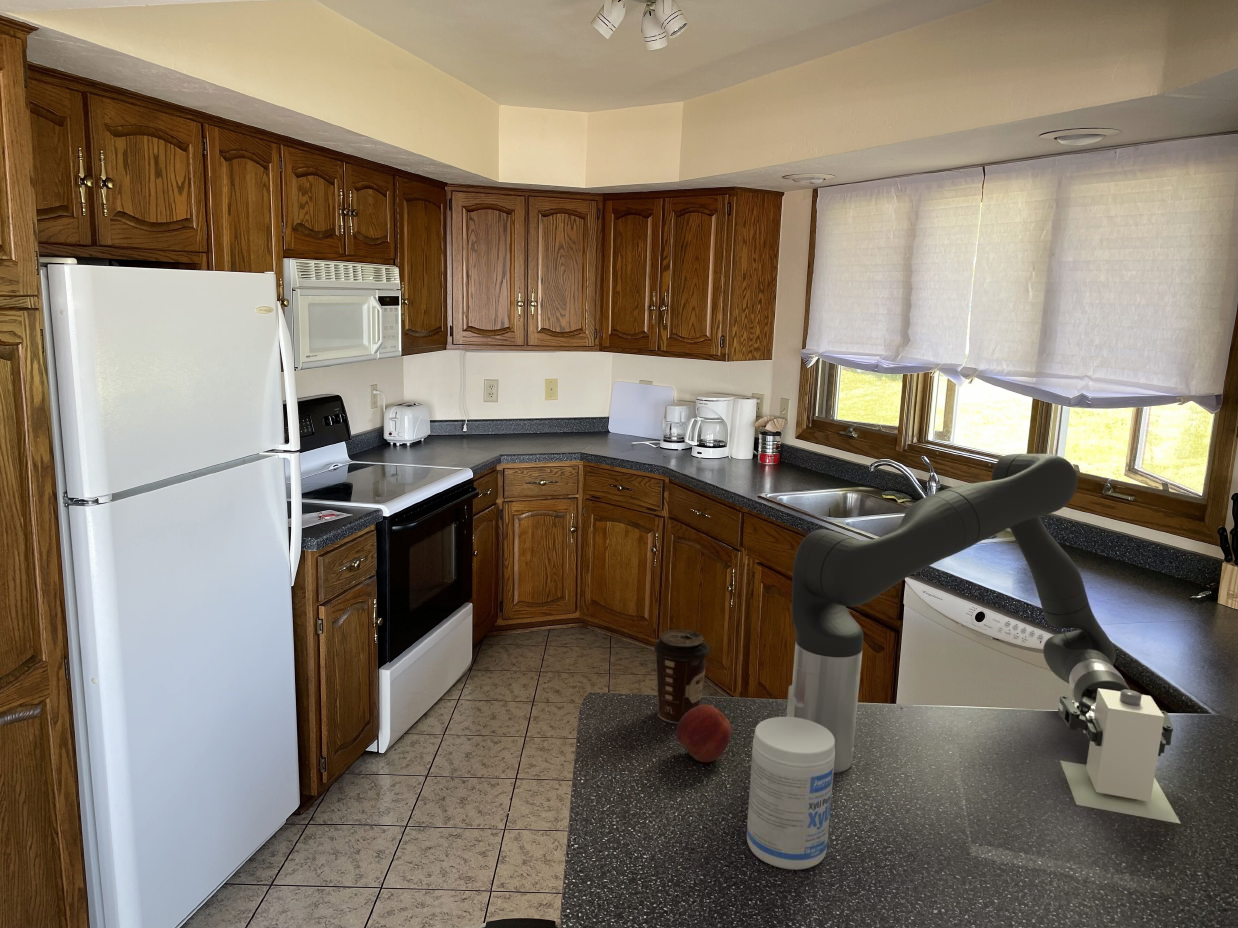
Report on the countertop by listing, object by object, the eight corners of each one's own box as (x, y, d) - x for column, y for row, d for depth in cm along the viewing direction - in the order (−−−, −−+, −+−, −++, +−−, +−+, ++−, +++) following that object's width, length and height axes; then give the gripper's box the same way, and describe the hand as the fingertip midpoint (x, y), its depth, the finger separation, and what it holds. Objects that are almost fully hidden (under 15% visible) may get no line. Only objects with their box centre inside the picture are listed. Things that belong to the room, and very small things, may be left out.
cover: (1096, 791, 115) (1110, 699, 113) (1086, 768, 121) (1099, 679, 119) (1150, 801, 113) (1165, 707, 111) (1137, 776, 119) (1151, 687, 117)
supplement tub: (822, 881, 98) (833, 761, 95) (739, 862, 100) (747, 745, 98) (829, 833, 107) (839, 722, 104) (752, 817, 109) (760, 709, 107)
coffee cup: (706, 705, 140) (710, 629, 138) (706, 729, 132) (711, 649, 130) (652, 701, 141) (656, 625, 139) (649, 725, 133) (653, 645, 130)
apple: (727, 775, 119) (731, 721, 118) (671, 768, 120) (674, 714, 119) (730, 748, 126) (733, 697, 125) (677, 742, 128) (680, 691, 126)
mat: (1075, 811, 114) (1076, 804, 113) (1059, 766, 125) (1060, 760, 125) (1179, 830, 110) (1180, 823, 110) (1153, 782, 121) (1154, 776, 121)
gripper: (1051, 661, 131) (1072, 708, 115) (1158, 676, 127) (1196, 727, 111) (1044, 707, 132) (1065, 760, 116) (1151, 724, 128) (1187, 781, 112)
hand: (1129, 744), depth 114 cm, fingers closed on cover, 6 cm apart
